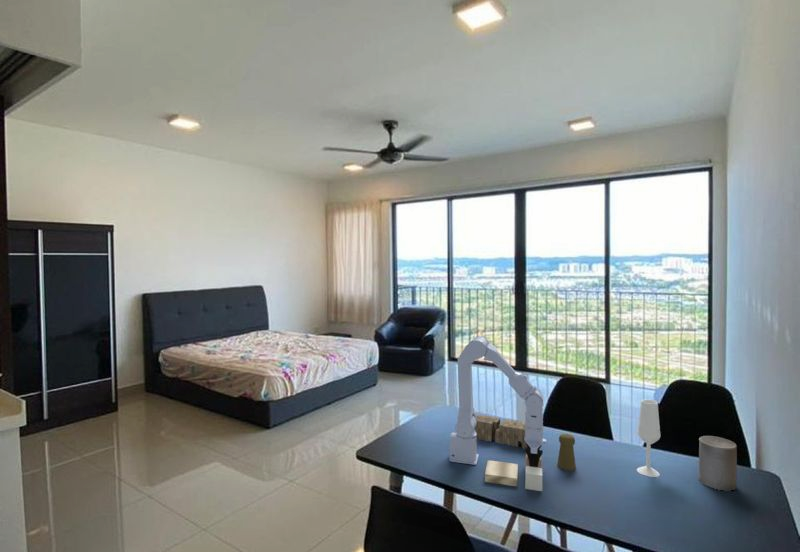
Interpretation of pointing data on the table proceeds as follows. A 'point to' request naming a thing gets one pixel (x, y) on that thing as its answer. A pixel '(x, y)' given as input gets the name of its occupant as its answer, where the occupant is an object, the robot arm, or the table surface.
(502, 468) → the birch base block
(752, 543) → the table surface
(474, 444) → the robot arm
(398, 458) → the table surface
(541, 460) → the terracotta cube
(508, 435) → the block tower
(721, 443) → the pillar candle
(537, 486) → the off-white cube
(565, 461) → the cork
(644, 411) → the champagne flute
